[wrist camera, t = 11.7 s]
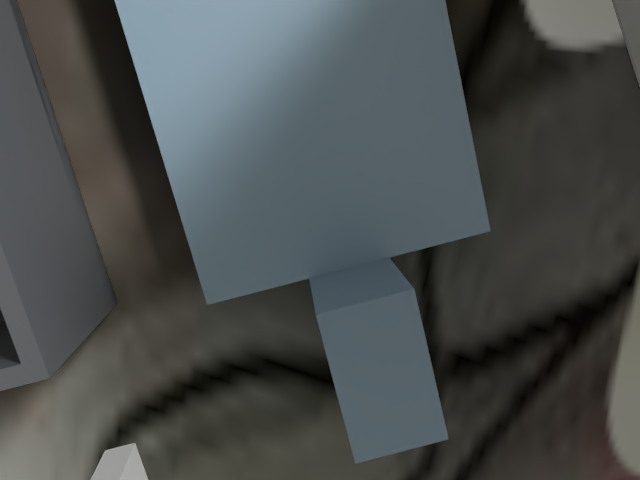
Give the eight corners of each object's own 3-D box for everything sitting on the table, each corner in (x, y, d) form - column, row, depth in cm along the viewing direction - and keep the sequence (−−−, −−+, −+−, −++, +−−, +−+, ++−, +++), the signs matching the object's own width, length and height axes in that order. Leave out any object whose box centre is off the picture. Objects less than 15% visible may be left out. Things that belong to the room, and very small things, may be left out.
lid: (94, -106, 21) (17, -199, 15) (392, -181, 21) (437, -304, 15) (247, 403, 25) (236, 495, 19) (497, 338, 25) (566, 408, 19)
